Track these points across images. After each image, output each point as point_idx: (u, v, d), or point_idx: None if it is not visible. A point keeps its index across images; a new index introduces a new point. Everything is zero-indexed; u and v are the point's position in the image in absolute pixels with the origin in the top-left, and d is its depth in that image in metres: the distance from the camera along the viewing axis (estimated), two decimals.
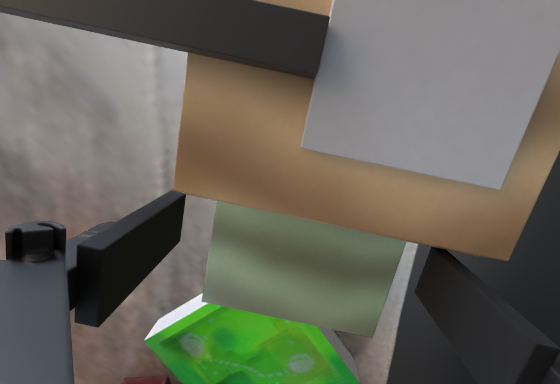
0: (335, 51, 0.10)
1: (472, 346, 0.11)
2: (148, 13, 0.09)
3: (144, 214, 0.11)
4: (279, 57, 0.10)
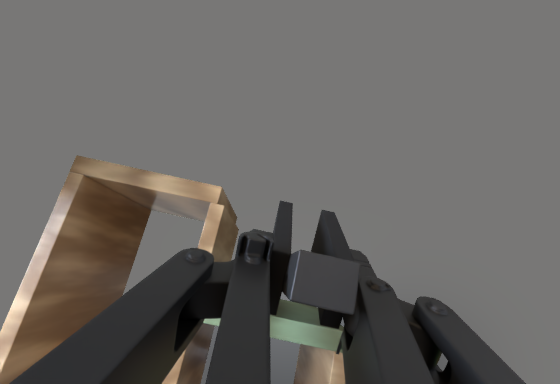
0: None
1: None
2: None
3: (285, 223, 0.13)
4: None
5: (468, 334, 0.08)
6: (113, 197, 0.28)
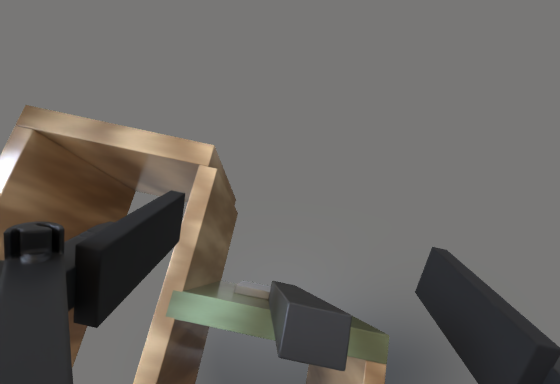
0: None
1: (473, 347, 0.10)
2: (294, 289, 0.16)
3: (143, 214, 0.11)
4: (294, 286, 0.20)
5: None
6: (81, 166, 0.23)
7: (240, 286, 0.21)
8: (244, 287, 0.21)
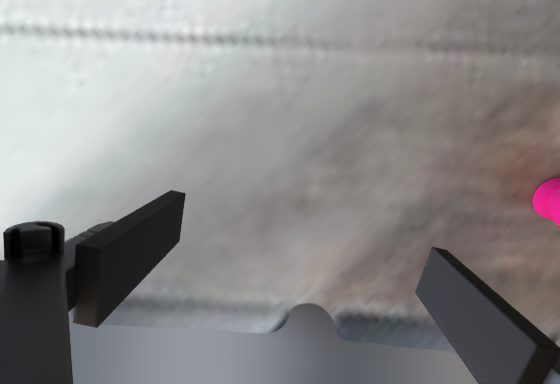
0: None
1: (473, 347, 0.10)
2: None
3: (143, 214, 0.11)
4: None
5: None
6: None
7: None
8: None
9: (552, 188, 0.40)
